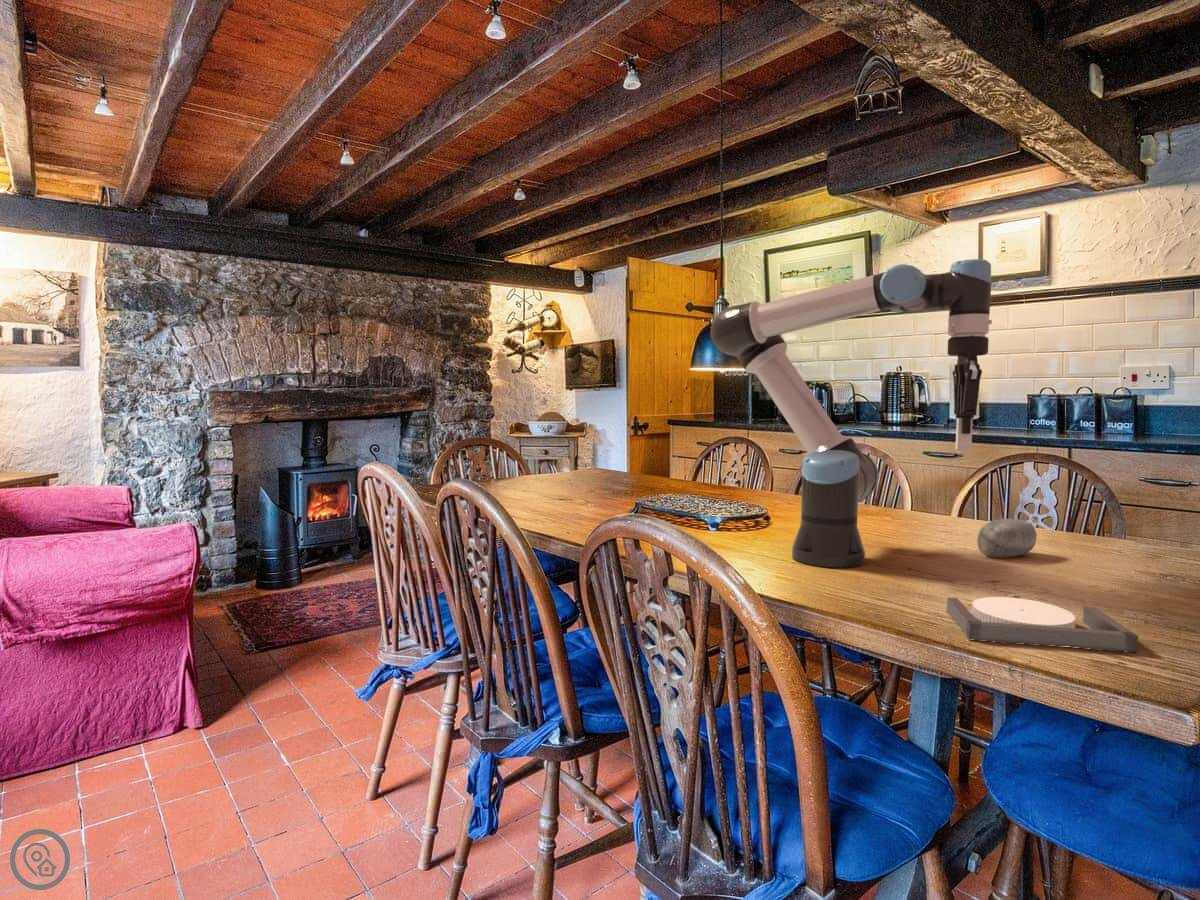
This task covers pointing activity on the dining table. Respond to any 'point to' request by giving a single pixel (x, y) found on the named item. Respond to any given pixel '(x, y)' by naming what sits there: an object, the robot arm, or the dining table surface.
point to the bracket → (1049, 631)
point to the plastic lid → (1021, 612)
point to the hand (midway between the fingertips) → (963, 449)
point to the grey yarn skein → (1006, 538)
